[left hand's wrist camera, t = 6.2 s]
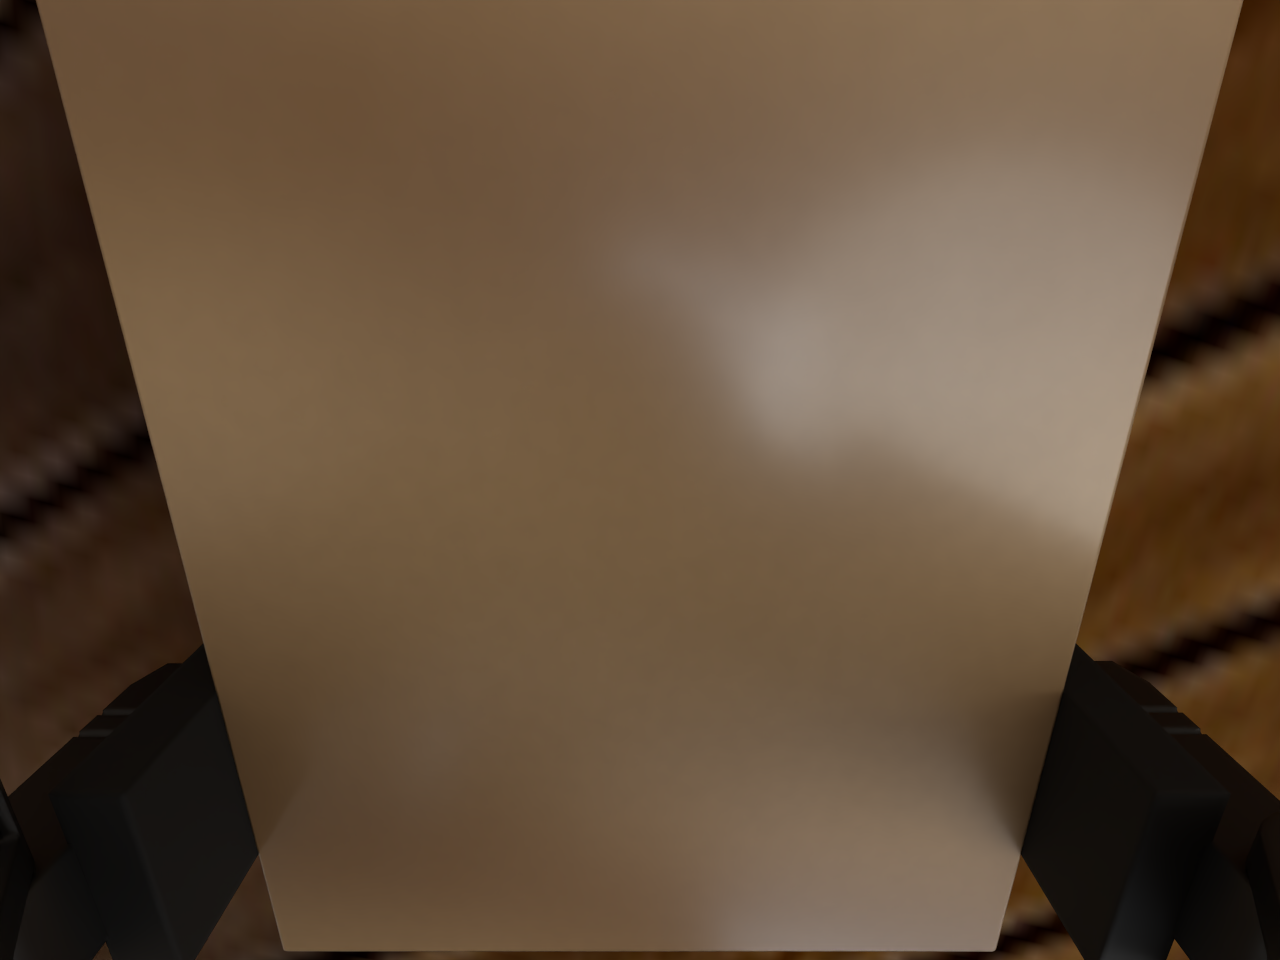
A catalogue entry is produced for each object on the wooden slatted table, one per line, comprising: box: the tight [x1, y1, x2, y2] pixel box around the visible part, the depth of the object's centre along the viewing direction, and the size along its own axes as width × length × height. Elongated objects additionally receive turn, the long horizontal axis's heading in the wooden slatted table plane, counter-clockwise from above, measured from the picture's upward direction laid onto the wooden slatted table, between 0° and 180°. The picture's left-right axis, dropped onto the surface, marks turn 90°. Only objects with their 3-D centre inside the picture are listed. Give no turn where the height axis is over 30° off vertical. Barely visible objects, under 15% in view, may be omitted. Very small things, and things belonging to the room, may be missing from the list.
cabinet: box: [36, 0, 1243, 951], centre depth 10 cm, size 22×10×9 cm, turn 0°
